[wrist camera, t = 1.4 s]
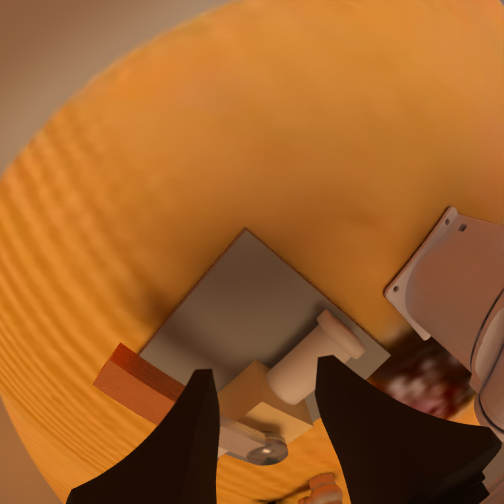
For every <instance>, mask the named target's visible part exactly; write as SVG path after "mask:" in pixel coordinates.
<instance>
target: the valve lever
mask: <svg viewBox="0 0 504 504" xmlns="http://www.w3.org/2000/svg"><path fill="white" fill-rule="evenodd" d="M93 385H94V386H95V387H97V388H98V389H100V390H101V391H103V392H104V393H105V394H107V395H108V396H110V397H111V398H113V399H114V400H116V401H117V402H119V403H121V404H122V405H124V406H125V407H127V408H129V409H130V410H132V411H133V412H135V413H137V414H138V415H140V416H142V417H144V418H145V419H147V420H149V421H151V422H152V423H154V424H156V425H159V424H160V422H161V421H162V420H163V418H164V417H165V416H166V414H167V413H168V412H169V411H170V409H171V408H172V406H173V405H174V403H175V402H176V400H177V399H178V397H179V396H180V394H181V393H182V391H183V389H184V388H185V385H183V384H182V383H180V382H178V381H177V380H175V379H174V378H172V377H170V376H169V375H167V374H166V373H164V372H163V371H161V370H159V369H158V368H156V367H155V366H153V365H152V364H150V363H149V362H147V361H146V360H145V359H143V358H142V357H140V356H139V355H137V354H136V353H135V352H133V351H132V350H130V349H129V348H128V347H126V346H125V345H124V344H122V343H121V342H120V344H119V345H118V346H117V348H116V349H115V350H114V352H113V353H112V355H111V356H110V357H109V359H108V360H107V362H106V363H105V365H104V366H103V367H102V369H101V371H100V373H99V374H98V376H97V378H96V380H95V381H94V383H93ZM219 447H220V448H222V449H225V450H227V451H230V452H232V453H235V454H238V455H240V456H243V457H246V458H247V460H248V461H249V462H250V463H252V464H255V465H272V464H276V463H279V462H281V461H283V460H284V459H285V458H286V457H287V456H288V449H287V445H286V440H285V438H284V437H282V436H281V435H278V434H276V433H275V432H272V431H260V432H259V431H257V430H255V429H252V428H250V427H248V426H246V425H244V424H241V423H239V422H237V421H235V420H233V419H231V418H229V417H227V416H225V415H223V414H221V413H220V436H219Z"/></svg>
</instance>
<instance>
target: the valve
mask: <svg viewBox="0 0 504 504" xmlns="http://www.w3.org/2000/svg"><path fill="white" fill-rule="evenodd" d="M309 485H310V489H311V491H312V492H311V495H310V497H309V496H306V497H304V498H302V499H300V500H299V501H298V504H342V497H343V494H342V491H341V489H340V487H339V486H337V485H336V483H335V480H334V477H333V474H332V473H329V474H320V475H318V476H316V477H314V478H312V479H310V480H309ZM268 504H276V503H275V502H270V503H268Z"/></svg>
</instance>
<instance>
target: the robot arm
mask: <svg viewBox="0 0 504 504" xmlns="http://www.w3.org/2000/svg"><path fill="white" fill-rule="evenodd" d="M445 221H446V224H445ZM395 286H396V289H395V290H393V289H394V287H395ZM384 296H385V297H386V299H387V300H388V301H389V302H390V303H391V304H392V305H393V306H394V307H395V308H396V309H397V311H398V312H399V313H400V314H401V315H402V316H403V317H404V318H405V319H406V321H407V322H408V323H409V324H410V325H411V326H412V327H413V329H414V330H415V331H416V332H417V333H418V334H419V335H420V337H421V338H422V339H423V340H427V339H428V338H429V337H430V336H432V337H433V338H434V339H435V340H437V341H438V342H439V343H440V344H441V345H442V346H443V347H444V348H445V349H446V350H448V351H449V352H450V353H451V354H452V355H453V356H454V357H455V358H456V359H457V360H458V361H459V362H461V363H462V364H463V365H464V366H465V367H466V368H467V369H468V370H469V371H470V372H471V373H472V377H471V380H470V382H469V385H470V386H471V387H472V388H473V389H474V390H475V391H476V392H477V395H476V397H475V401H474V410H475V414H476V417H477V419H478V421H479V423H480V425H481V426H476V425H468V424H462V423H457V422H453V421H448V420H445V419H441V418H438V417H435V416H432V415H429V414H426V413H424V412H421V411H418V410H416V409H414V408H412V407H409V406H407V405H405V404H403V403H401V402H399V401H397V400H395V399H394V398H392V397H390V396H389V395H387V394H385V393H384V392H382V391H380V390H379V389H377V388H376V387H374V386H373V385H371V384H370V383H369V382H367V381H366V380H365V379H363V378H362V377H360V376H359V375H358V374H357V373H355V372H354V371H353V370H351V369H350V368H349V367H348V366H347V365H345V364H344V363H343V362H342V361H340V360H339V359H338V358H337V357H335V356H334V355H328V356H322V357H318V360H317V373H316V384H315V399H316V403H317V406H318V410H319V413H320V417H321V419H322V422H323V424H324V426H325V429H326V431H327V433H328V436H329V438H330V440H331V443H332V445H333V447H334V450H335V452H336V454H337V456H338V459H339V462H340V464H341V467H342V470H343V474H344V478H345V481H346V485H347V489H348V493H349V496H350V501H351V504H504V473H503V474H502V475H501V476H499V477H498V478H497V479H496V480H495V481H493V482H492V483H491V484H490V485H488V486H487V487H485V486H484V484H483V483H482V481H483V480H484V479H485V476H484V474H483V473H482V471H483V470H484V468H485V467H486V466H487V465H488V464H489V463H490V462H491V461H492V459H493V458H494V457H495V456H496V454H497V453H498V452H499V450H500V449H501V446H502V442H504V226H502V225H498V224H495V223H491V222H487V221H484V220H480V219H476V218H472V217H468V216H464V215H460V214H459V213H458V212H457V210H456V208H455V207H449V208H448V209H447V211H446V212H445V214H444V215H443V217H442V218H441V219H440V221H439V222H438V224H437V225H436V227H435V228H434V229H433V231H432V232H431V233H430V235H429V236H428V238H427V239H426V240H425V242H424V243H423V244H422V246H421V247H420V248H419V249H418V251H417V252H416V253H415V255H414V256H413V257H412V258H411V260H410V261H409V262H408V263H407V265H406V266H405V267H404V268H403V270H402V271H401V272H400V273H399V274H398V276H397V277H396V278H395V279H394V280H393V282H392V283H391V284H390V285H389V286H388V287H387V289H386V290H385V292H384ZM219 436H220V406H219V401H218V396H217V391H216V386H215V381H214V376H213V371H212V369H196V370H195V371H194V372H193V373H192V375H191V377H190V379H189V381H188V383H187V384H186V386H185V388H184V389H183V391H182V393H181V394H180V396H179V397H178V399H177V400H176V402H175V403H174V405H173V406H172V408H171V409H170V411H169V412H168V413H167V414H166V416H165V417H164V418H163V420H162V421H161V422H160V424H159V425H158V426H157V427H156V428H155V429H154V431H153V432H152V433H151V434H150V435H149V436H148V437H147V438H146V439H145V440H144V441H143V442H142V443H141V444H140V445H139V446H138V447H137V448H136V449H134V450H133V451H132V452H131V453H130V454H129V455H128V456H126V457H125V458H124V459H123V460H121V461H120V462H119V463H117V464H116V465H114V466H113V467H111V468H110V469H109V470H107V471H106V472H104V473H103V474H101V475H99V476H98V477H96V478H94V479H92V480H90V481H88V482H86V483H84V484H82V485H80V486H78V487H76V488H74V489H72V490H71V492H70V494H69V496H68V498H67V501H66V504H217V500H216V470H217V458H218V447H219Z"/></svg>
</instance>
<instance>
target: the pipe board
mask: <svg viewBox="0 0 504 504" xmlns="http://www.w3.org/2000/svg"><path fill="white" fill-rule="evenodd" d="M138 355H139V356H140V357H142V358H143V359H145V360H146V361H147V362H149V363H150V364H152V365H153V366H155V367H156V368H158V369H159V370H161V371H163V372H164V373H166V374H167V375H169V376H170V377H172V378H174V379H175V380H177V381H178V382H180V383H182V384H183V385H185V386H186V384H187V383H188V381H189V379H190V377H191V375H192V373H193V372H194V371H195V370H196V369H212V371H213V376H214V381H215V386H216V391H217V396H218V401H219V406H220V413H221V414H223V415H225V416H227V417H229V418H231V419H233V420H235V421H237V422H239V423H241V424H244V425H246V426H248V427H250V428H252V429H255V430H257V431H259V432H260V431H272V432H275V433H276V434H278V435H281V436H282V437H284V438H285V440H286V445H287V444H289V443H290V442H292V441H293V440H295V439H296V438H298V437H299V436H301V435H302V434H303V433H305V432H306V431H308V430H309V429H311V428H312V427H313V422H314V421H316V420H317V419H318V418H320V413H319V410H318V406H317V403H316V399H315V384H316V373H317V360H318V357H322V356H328V355H334V356H335V357H337V358H338V359H339V360H340V361H342V362H343V363H344V364H345V365H347V366H348V367H349V368H350V369H351V370H353V371H354V372H355V373H357V374H358V375H359V376H360V377H362V378H363V379H367V378H368V377H369V376H370V375H371V374H372V373H373V372H374V371H375V370H376V369H377V368H378V367H379V366H380V365H381V364H382V363H383V362H384V361H385V360H387V359H388V358H389V357H390V356H391V355H390V354H389V353H388V351H387V350H386V349H385V348H384V347H383V346H381V345H380V344H379V343H378V342H377V341H376V340H375V339H374V338H372V337H371V336H370V335H369V334H368V333H367V332H366V331H365V330H363V329H362V328H361V327H360V326H359V325H358V324H357V323H356V322H354V321H353V320H352V319H351V318H350V317H349V316H348V315H346V314H345V313H344V312H343V311H342V310H341V309H340V308H338V307H337V306H336V305H335V304H334V303H333V302H332V301H330V300H329V299H328V298H327V297H326V296H325V295H324V294H322V293H321V292H320V291H319V290H318V289H317V288H316V287H314V286H313V285H312V284H311V283H310V282H309V281H307V280H306V279H305V278H304V277H303V276H302V275H301V274H299V273H298V272H297V271H296V270H295V269H294V268H292V267H291V266H290V265H289V264H288V263H287V262H285V261H284V260H283V259H282V258H281V257H280V256H278V255H277V254H276V253H275V252H274V251H273V250H271V249H270V248H269V247H268V246H267V245H266V244H264V243H263V242H262V241H261V240H260V239H258V238H257V237H256V236H255V235H254V234H253V233H251V232H250V231H249V230H248V229H247V228H246V227H245V228H244V229H243V230H242V231H241V233H240V234H239V235H238V236H237V237H236V238H235V239H234V241H233V242H232V243H231V244H230V245H229V246H228V248H227V249H226V250H225V251H224V252H223V253H222V254H221V256H220V257H219V258H218V259H217V260H216V261H215V263H214V264H213V265H212V266H211V267H210V268H209V270H208V271H207V272H206V273H205V274H204V275H203V277H202V278H201V279H200V280H199V281H198V283H197V284H196V285H195V286H194V287H193V288H192V290H191V291H190V292H189V293H188V294H187V296H186V297H185V298H184V299H183V300H182V301H181V303H180V304H179V305H178V306H177V307H176V309H175V310H174V311H173V312H172V313H171V315H170V316H169V317H168V318H167V319H166V321H165V322H164V323H163V324H162V325H161V327H160V328H159V329H158V330H157V332H156V333H155V334H154V335H153V336H152V338H151V339H150V340H149V341H148V342H147V344H146V345H145V346H144V347H143V349H142V350H141V351H140V352H139V353H138ZM224 454H227V455H229V456H232V457H235V458H237V459H240V460H243V461H246V462H249V461H248V460H247V458H246V457H243V456H240V455H238V454H235V453H232V452H230V451H227V450H225V449H222V448H220V447H218V458H217V462H218V459H219V457H220V456H222V455H224ZM249 463H250V462H249Z"/></svg>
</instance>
